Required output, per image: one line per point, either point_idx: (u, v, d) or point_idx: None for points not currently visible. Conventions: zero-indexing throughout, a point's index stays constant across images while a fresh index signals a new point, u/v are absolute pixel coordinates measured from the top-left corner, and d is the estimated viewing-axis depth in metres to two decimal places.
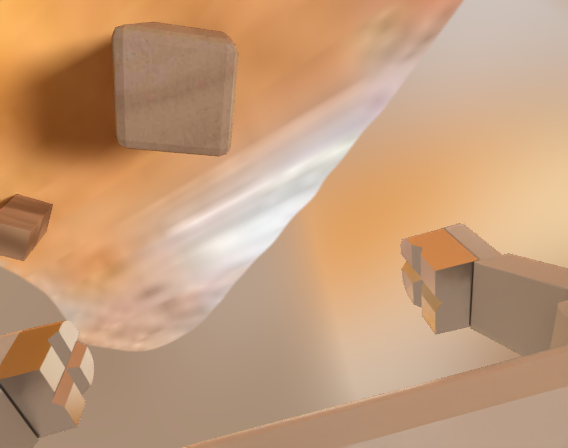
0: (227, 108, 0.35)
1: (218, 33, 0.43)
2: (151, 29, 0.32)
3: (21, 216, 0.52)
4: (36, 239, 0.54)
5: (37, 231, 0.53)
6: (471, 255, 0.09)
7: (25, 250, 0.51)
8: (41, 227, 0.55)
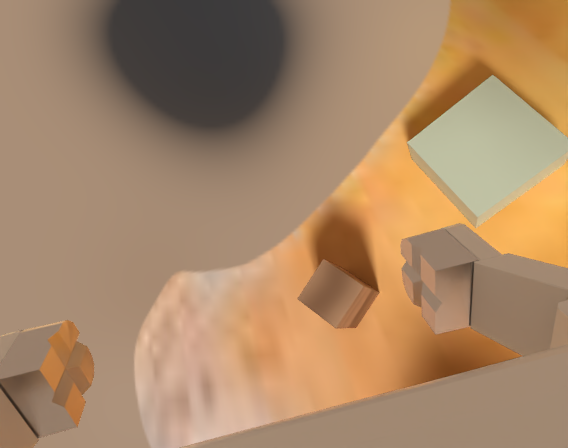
0: None
1: None
2: None
3: (355, 310, 0.39)
4: None
5: None
6: (471, 256, 0.09)
7: (310, 308, 0.38)
8: None
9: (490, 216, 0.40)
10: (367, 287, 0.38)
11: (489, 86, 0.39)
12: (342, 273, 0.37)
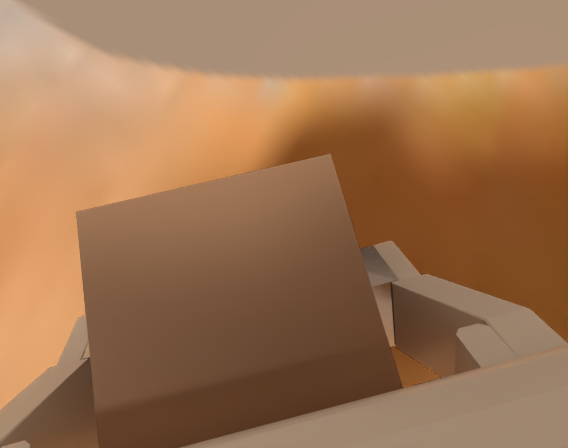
0: None
1: None
2: None
3: None
4: None
5: None
6: (392, 275, 0.09)
7: (91, 301, 0.07)
8: None
9: None
10: None
11: None
12: (360, 279, 0.07)
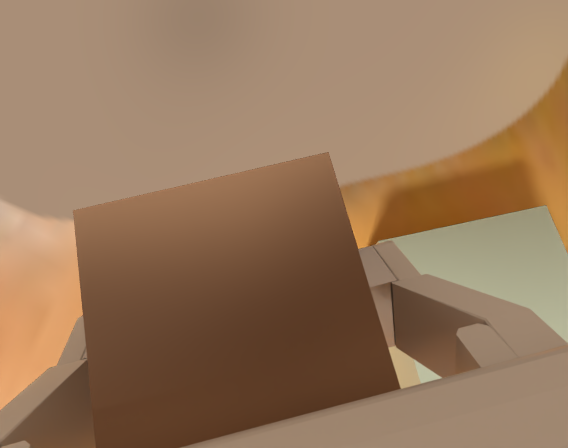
0: None
1: None
2: None
3: None
4: None
5: None
6: (392, 275, 0.09)
7: (88, 299, 0.07)
8: None
9: None
10: None
11: (535, 220, 0.23)
12: (358, 278, 0.07)
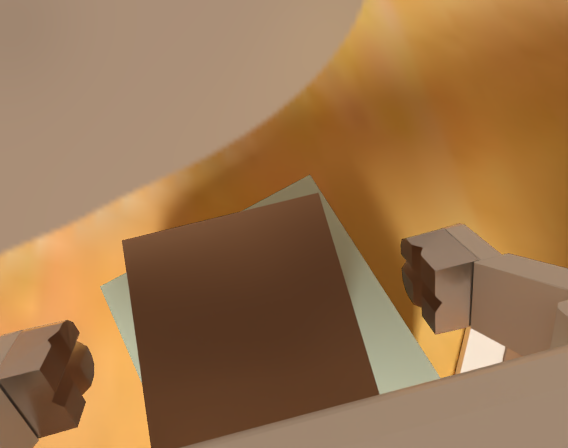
0: None
1: None
2: None
3: None
4: None
5: None
6: (472, 256, 0.09)
7: (136, 309, 0.09)
8: None
9: None
10: None
11: None
12: (341, 290, 0.09)
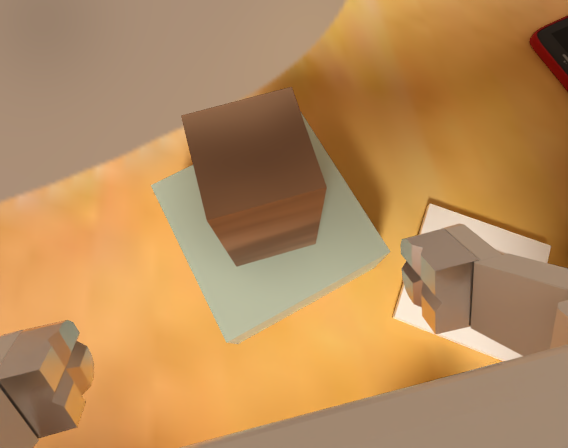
0: None
1: None
2: None
3: (267, 228, 0.17)
4: None
5: None
6: (471, 256, 0.09)
7: (191, 150, 0.16)
8: None
9: (261, 330, 0.25)
10: (321, 205, 0.17)
11: None
12: (305, 136, 0.16)
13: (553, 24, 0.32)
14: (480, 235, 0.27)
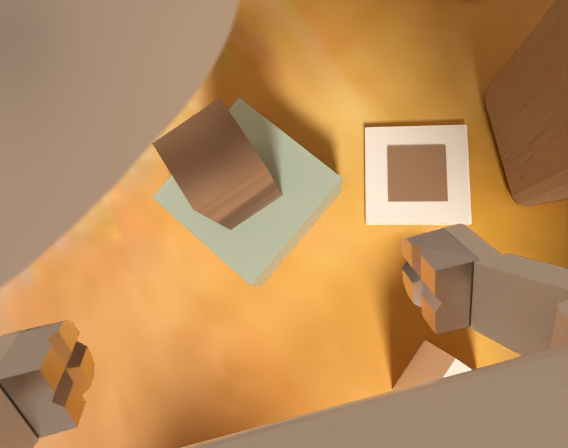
0: None
1: None
2: None
3: (237, 199, 0.24)
4: None
5: None
6: (471, 256, 0.09)
7: (167, 165, 0.22)
8: None
9: (274, 269, 0.33)
10: None
11: (238, 112, 0.31)
12: (239, 131, 0.22)
13: None
14: (411, 137, 0.33)
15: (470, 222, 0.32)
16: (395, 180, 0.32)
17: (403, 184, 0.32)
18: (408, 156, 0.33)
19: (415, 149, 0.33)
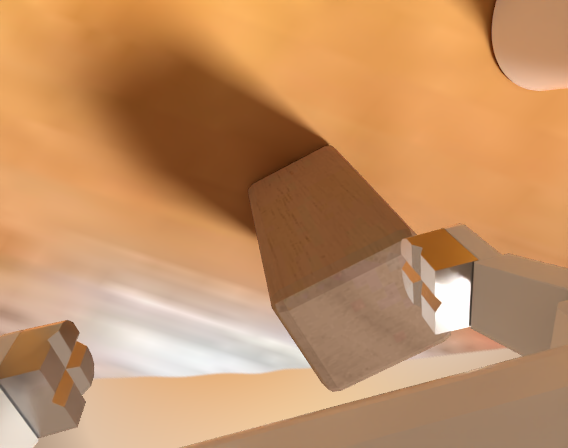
0: (385, 367, 0.28)
1: None
2: None
3: None
4: None
5: None
6: (471, 256, 0.09)
7: None
8: None
9: None
10: None
11: None
12: None
13: None
14: None
15: None
16: None
17: None
18: None
19: None
